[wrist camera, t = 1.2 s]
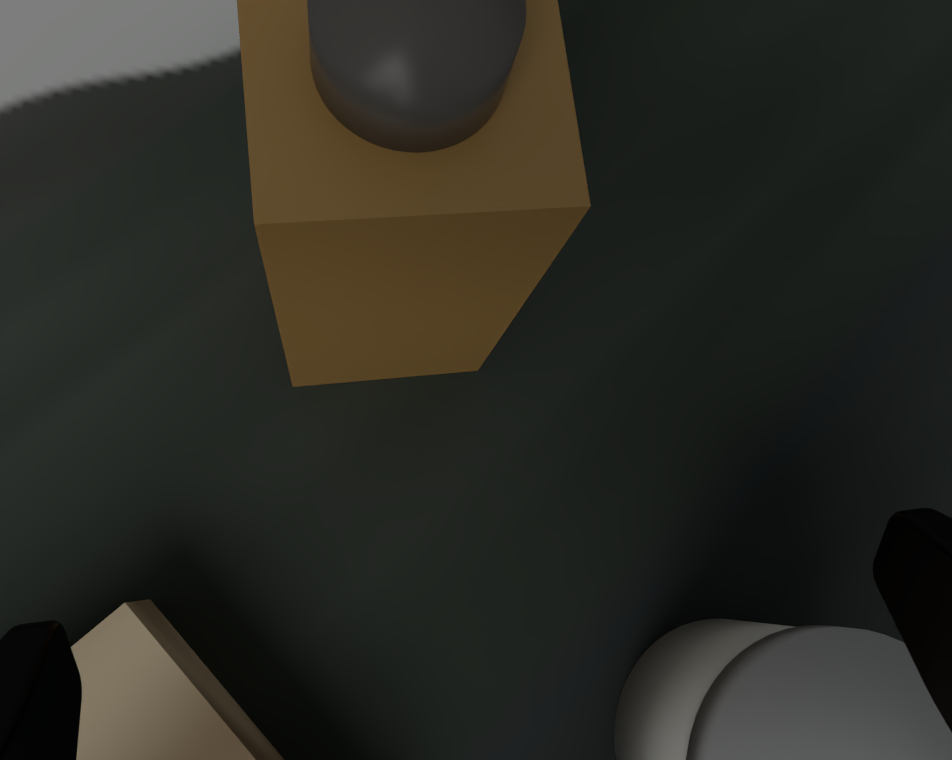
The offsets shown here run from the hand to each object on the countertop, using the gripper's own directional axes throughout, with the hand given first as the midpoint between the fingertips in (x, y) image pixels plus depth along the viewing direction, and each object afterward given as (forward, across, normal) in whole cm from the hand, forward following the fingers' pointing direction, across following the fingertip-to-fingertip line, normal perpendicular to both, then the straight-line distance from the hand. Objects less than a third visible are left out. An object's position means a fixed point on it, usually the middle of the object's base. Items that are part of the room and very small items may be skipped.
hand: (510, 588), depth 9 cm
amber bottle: (+15, 0, +4) cm, 16 cm away
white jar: (+6, -8, +13) cm, 16 cm away
